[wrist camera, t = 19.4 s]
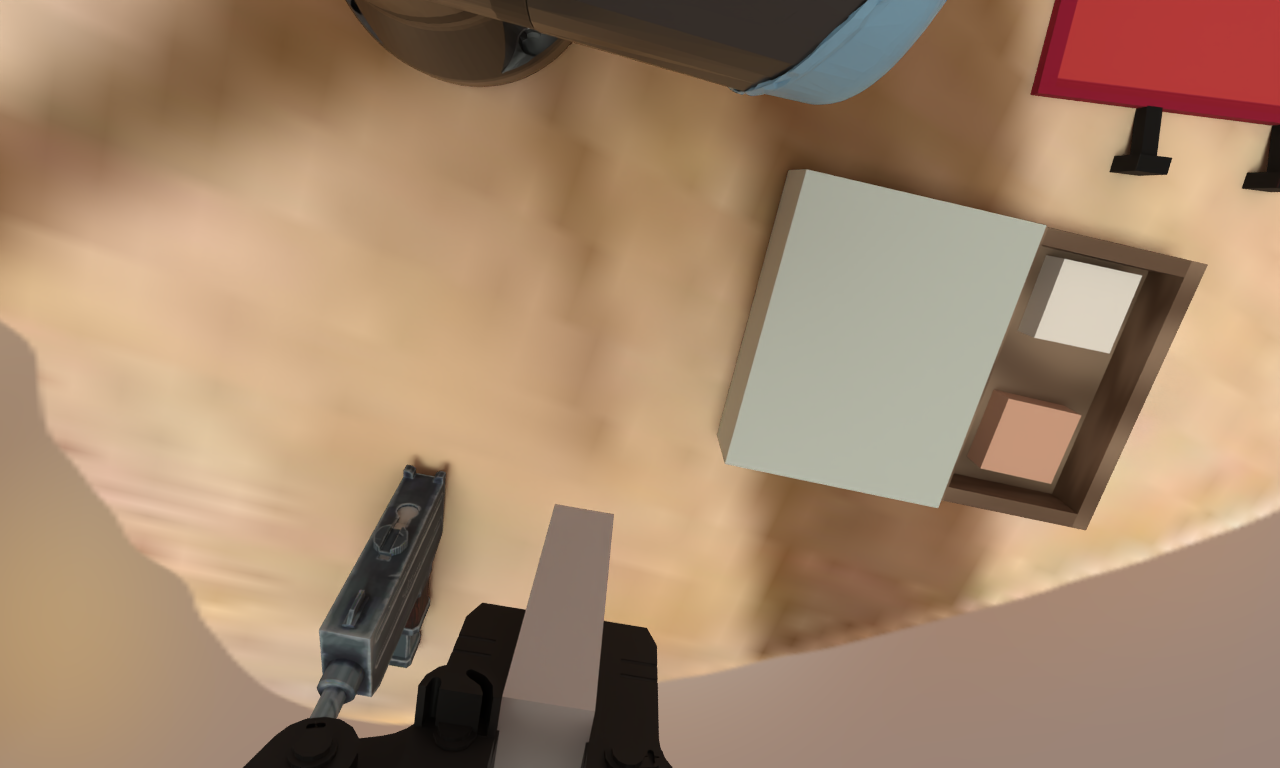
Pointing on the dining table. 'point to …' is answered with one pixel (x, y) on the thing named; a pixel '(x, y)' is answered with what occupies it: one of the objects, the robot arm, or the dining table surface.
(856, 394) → the board
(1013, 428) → the tile
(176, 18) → the dining table surface
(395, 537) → the gun
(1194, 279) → the tray
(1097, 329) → the tile
